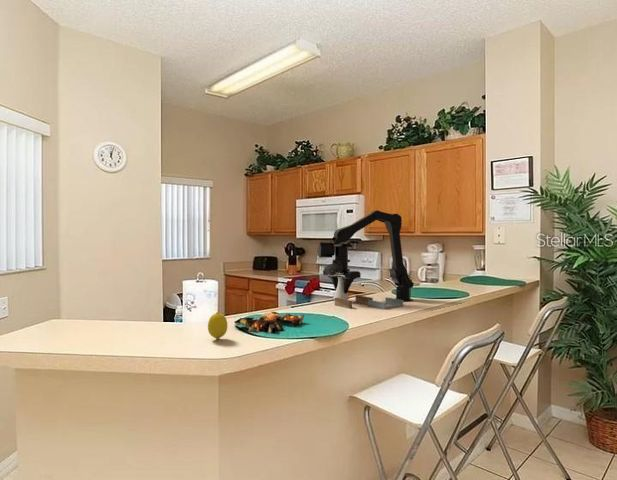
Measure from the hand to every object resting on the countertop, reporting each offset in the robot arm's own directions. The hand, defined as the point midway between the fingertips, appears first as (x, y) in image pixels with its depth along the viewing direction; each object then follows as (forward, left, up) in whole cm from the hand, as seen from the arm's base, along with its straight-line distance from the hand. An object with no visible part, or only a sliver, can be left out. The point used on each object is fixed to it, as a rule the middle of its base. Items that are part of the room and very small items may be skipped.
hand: (341, 292), depth 177 cm
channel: (0, +8, -4) cm, 9 cm away
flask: (0, 0, -3) cm, 3 cm away
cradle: (-9, +17, -4) cm, 20 cm away
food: (+48, +16, -5) cm, 51 cm away
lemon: (+70, +23, -5) cm, 74 cm away
